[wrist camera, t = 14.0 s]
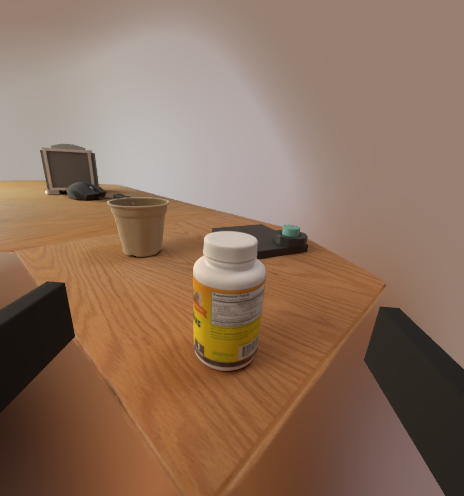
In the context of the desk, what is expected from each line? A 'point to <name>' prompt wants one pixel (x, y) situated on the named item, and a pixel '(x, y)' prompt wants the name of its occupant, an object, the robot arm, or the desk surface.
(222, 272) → the supplement bottle
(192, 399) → the desk surface
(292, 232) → the button
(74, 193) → the computer mouse
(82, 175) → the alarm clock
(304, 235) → the scale
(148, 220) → the flower pot
